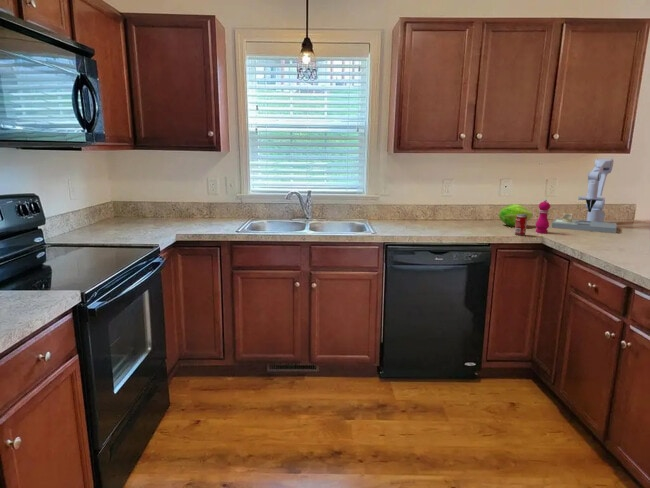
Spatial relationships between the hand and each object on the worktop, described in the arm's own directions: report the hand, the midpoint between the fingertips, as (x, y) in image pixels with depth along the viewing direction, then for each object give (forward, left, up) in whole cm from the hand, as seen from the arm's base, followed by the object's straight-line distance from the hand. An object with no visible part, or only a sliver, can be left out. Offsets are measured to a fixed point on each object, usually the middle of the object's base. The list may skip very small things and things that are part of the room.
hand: (589, 211), depth 274 cm
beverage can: (+52, +38, -10) cm, 65 cm away
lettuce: (+47, +8, -10) cm, 49 cm away
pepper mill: (+37, +28, -10) cm, 47 cm away
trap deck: (+4, +7, -9) cm, 12 cm away
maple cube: (+14, +3, -6) cm, 16 cm away
